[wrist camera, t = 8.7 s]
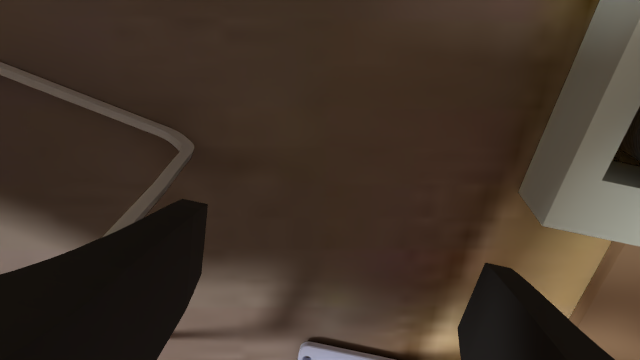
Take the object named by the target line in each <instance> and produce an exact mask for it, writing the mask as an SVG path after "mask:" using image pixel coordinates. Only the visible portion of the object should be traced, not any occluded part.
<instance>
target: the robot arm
mask: <svg viewBox="0 0 640 360" xmlns="http://www.w3.org/2000/svg"><path fill="white" fill-rule="evenodd" d="M207 206H208V204H204V203H199V202H194V201H190V200H185V199H181V200H179V201H177V202H175V203H173V204H170V205H168V206H166V207H164V208H162V209H160V210H158V211H157V212H155V213H153V214H151V215H149V216H147V217H145V218H143V219H141V220H138V221H136V222H134V223H132V224H130V225H128V226H126V227H124V228H122V229H120V230H118V231H116V232H114V233H111V234H109V235H107V236H104V237H102V238H100V239H97V240H95V241H93V242H91V243H88V244H86V245H84V246H81V247H79V248H77V249H74V250H72V251H69V252H67V253H64V254H61V255H59V256H56V257H53V258H51V259H48V260H45V261H42V262H39V263H36V264H33V265H30V266H27V267H24V268H21V269H18V270H14V271H11V272H8V273H4V274H0V360H157V358H158V356H159V355H160V353H161V351H162V350H163V348H164V346H165V345H166V343H167V341H168V340H169V338H170V336H171V335H172V333H173V331H174V329H175V328H176V326H177V324H178V323H179V321H180V319H181V317H182V316H183V314H184V312H185V310H186V308H187V306H188V304H189V302H190V299H191V297H192V295H193V293H194V290H195V288H196V285H197V283H198V281H199V278H200V276H201V271H202V261H203V250H204V239H205V228H206V217H207ZM458 336H459V346H460V355H461V360H615V359H614V358H613V357H611V356H610V355H609V354H608V353H607V352H605V351H604V350H603V349H602V348H601V347H599V346H598V345H597V344H596V343H595V342H594V341H593V340H591V339H590V338H589V337H588V336H587V335H586V334H585V333H583V332H582V331H581V330H580V329H579V328H578V327H577V326H576V325H574V324H573V323H572V322H571V321H570V320H569V319H568V318H567V317H566V316H565V315H563V314H562V313H561V312H560V311H559V310H558V309H557V308H556V307H555V306H554V305H553V304H551V303H550V302H549V301H548V300H547V299H546V298H545V297H544V296H543V295H542V294H541V293H540V292H538V291H537V290H536V289H535V288H534V287H533V286H532V285H531V284H530V283H528V282H527V281H526V280H525V279H524V278H523V277H521V276H520V275H519V274H518V273H516V272H515V271H514V270H512V269H511V268H507V267H503V266H498V265H493V264H489V263H485V265H484V267H483V269H482V272H481V274H480V276H479V279H478V281H477V284H476V286H475V288H474V291H473V293H472V295H471V298H470V300H469V302H468V305H467V307H466V310H465V312H464V314H463V317H462V319H461V321H460V324H459V326H458ZM305 356H309V357H310V358H307V357H305ZM297 360H395V359H391V358H386V357H381V356H376V355H372V354H367V353H362V352H358V351H353V350H348V349H343V348H339V347H334V346H329V345H324V344H320V343H315V342H308V341H307V342H304V343H302V344H301V346H300V351H299V355H298V359H297Z"/></svg>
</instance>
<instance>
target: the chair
mask: <svg viewBox="0 0 640 360" xmlns="http://www.w3.org/2000/svg"><path fill="white" fill-rule="evenodd" d="M0 75H1V76H4V77H7V78H9V79H12V80H14V81H17V82H20V83H22V84H25V85H27V86H30V87H32V88H35V89H38V90H40V91H43V92H45V93H48V94H51V95H53V96H56V97H58V98H61V99H63V100H66V101H69V102H71V103H74V104H76V105H79V106H82V107H84V108H87V109H89V110H92V111H95V112H97V113H100V114H102V115H105V116H107V117H110V118H113V119H115V120H118V121H120V122H123V123H126V124H128V125H131V126H133V127H136V128H138V129H141V130H144V131H146V132H149V133H152V134H154V135H157V136H159V137H161V138H164V139H165V140H167V141H168V142H170V143H171V144H172V145H173V146H174V147H176V148H177V149H178V151H179V153H178V154H177V155H176V156H175V158H174V159H173V160H172V161H171V162H170V163H169V165H168V166H167V167H166V168H165V169H164V171H163V172H162V173H161V174H160V175H159V177H158V178H157V179H156V180H155V182H154V183H153V184H152V185H151V186H150V187H149V188H148V189H147V190H146V191H145V192H144V193H143V195H142V196H141V197H140V198H139V199H138V200H137V201H136V202H135V203H134V204H133V205H132V206H131V207H130V208H129V209H128V210H127V211H126V212H125V213H124V215H123V216H122V217H121V218H120V219H119V220H118V221H117V222H116V223H115V224H114V225H113V226H112V227H111V228H110V229H109V230H108V231H107V232H106V233H105V235H104V236H107V235H109V234H111V233H114V232H116V231H118V230H120V229H122V228H124V227H126V226H128V225H130V224H132V223H134V222H136V221H138V220H141V219H143V218H144V216H145V215H146V214H147V213H148V212H149V211H150V209H151V208H152V207H153V206H154V205H155V204H156V202H157V201H158V200H159V199H160V198H161V197H162V196H163V195H164V193H165V192H166V190H167V189H168V188H169V186H170V185H171V184H172V182H173V181H174V179H175V178H176V177H177V175H178V174H179V173H180V172H181V170H182V169H183V168H184V166H185V165H186V164H187V163H188V161H189V160H190V159H191V157H192V154H193V151H194V147H195V146H194V145H193V143H192V142H191V141H190V140H189V139H188V138H186V137H185V136H184V135H183V134H181V133H180V132H178V131H176V130H174V129H172V128H169V127H167V126H164V125H162V124H159V123H156V122H154V121H151V120H148V119H146V118H143V117H141V116H138V115H136V114H133V113H130V112H128V111H125V110H123V109H120V108H118V107H115V106H112V105H110V104H107V103H105V102H102V101H100V100H97V99H94V98H92V97H89V96H87V95H84V94H82V93H79V92H76V91H74V90H71V89H69V88H66V87H64V86H61V85H58V84H56V83H53V82H51V81H48V80H46V79H43V78H40V77H38V76H35V75H33V74H30V73H28V72H25V71H22V70H20V69H17V68H15V67H12V66H10V65H7V64H4V63H2V62H0ZM104 236H103V237H104Z"/></svg>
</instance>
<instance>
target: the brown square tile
mask: <svg viewBox="0 0 640 360" xmlns="http://www.w3.org/2000/svg"><path fill="white" fill-rule="evenodd" d="M569 320H570V321H571V322H572V323H573V324H574V325H576V326H577V327H578V328H579V329H580V330H581V331H582V332H583V333H585V334H586V335H587V336H588V337H589V338H590V339H591V340H593V341H594V342H595V343H596V344H597V345H598V346H599V347H601V348H602V349H603V350H604V351H605V352H607V353H608V354H609V355H610V356H611V357H613V358H614V359H615V360H640V247H639V246H635V245H630V244H625V243H620V242H616V241H612V243H611V245H610V247H609V248H608V250H607V252H606V254H605V256H604V257H603V259H602V261H601V263H600V265H599V266H598V268H597V270H596V272H595V273H594V275H593V277H592V279H591V281H590V282H589V284H588V286H587V288H586V290H585V291H584V293H583V295H582V297H581V299H580V300H579V302H578V304H577V306H576V308H575V309H574V311H573V313H572V315H571V317H570V318H569Z"/></svg>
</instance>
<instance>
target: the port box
mask: <svg viewBox="0 0 640 360" xmlns="http://www.w3.org/2000/svg"><path fill="white" fill-rule="evenodd" d="M639 107H640V0H600V1H599V3H598V6H597V8H596V11H595V13H594V15H593V18H592V20H591V22H590V25H589V27H588V29H587V32H586V34H585V36H584V39H583V41H582V43H581V46H580V48H579V50H578V53H577V55H576V57H575V60H574V62H573V64H572V67H571V69H570V72H569V74H568V76H567V79H566V81H565V83H564V86H563V88H562V90H561V93H560V95H559V97H558V100H557V102H556V104H555V107H554V109H553V111H552V114H551V116H550V118H549V121H548V123H547V126H546V128H545V130H544V133H543V135H542V137H541V140H540V142H539V144H538V147H537V149H536V151H535V154H534V156H533V158H532V161H531V163H530V165H529V168H528V170H527V172H526V175H525V177H524V179H523V182H522V184H521V187H520V189H519V191H518V193H519V194H520V196H521V197H522V199H523V200H524V201H525V203H526V204H527V206H528V207H529V208H530V210H531V211H532V212H533V214H534V215H535V217H536V218H537V219H538V221H539V222H540V224H541V225H542V226H544V227H549V228H554V229H558V230H563V231H568V232H573V233H578V234H582V235H587V236H592V237H597V238H601V239H606V240H611V241H616V242H620V243H625V244H630V245H635V246H639V247H640V167H639V166H635V165H630V164H625V163H620V162H616V161H612V159H613V158H614V156H615V154H616V152H617V150H618V148H619V146H620V144H621V142H622V140H623V138H624V136H625V134H626V132H627V130H628V128H629V126H630V124H631V122H632V120H633V118H634V116H635V114H636V112H637V110H638V109H639Z"/></svg>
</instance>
